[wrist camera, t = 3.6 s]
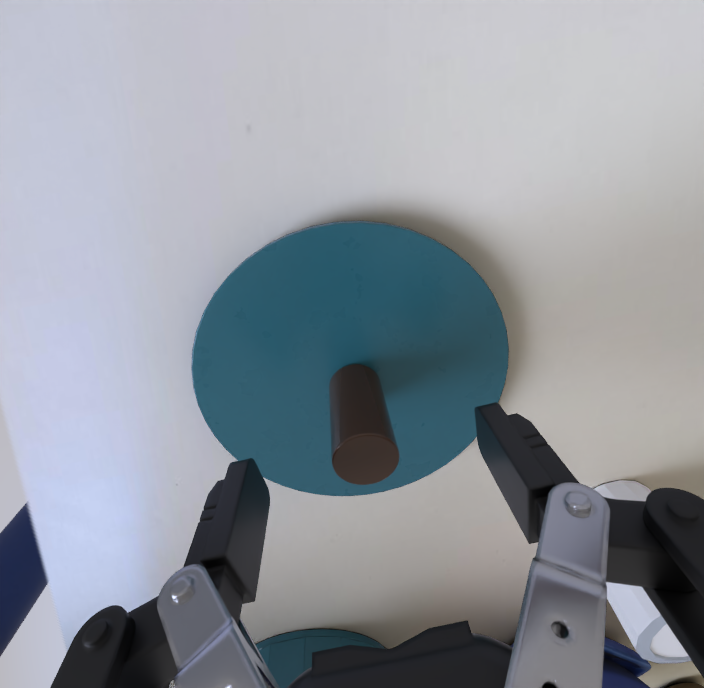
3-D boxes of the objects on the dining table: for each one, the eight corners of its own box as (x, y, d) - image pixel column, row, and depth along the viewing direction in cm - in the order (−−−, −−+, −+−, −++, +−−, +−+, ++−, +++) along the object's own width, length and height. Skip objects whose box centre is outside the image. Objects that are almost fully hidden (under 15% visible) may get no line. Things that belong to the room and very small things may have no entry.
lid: (260, 504, 22) (241, 614, 16) (140, 267, 15) (41, 325, 10) (504, 448, 21) (565, 544, 16) (490, 178, 14) (588, 187, 9)
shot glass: (657, 457, 22) (787, 572, 16) (663, 522, 25) (774, 641, 19) (547, 497, 23) (631, 621, 17) (566, 555, 26) (642, 679, 20)
